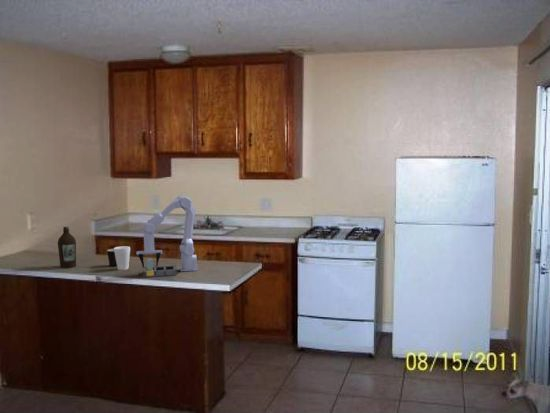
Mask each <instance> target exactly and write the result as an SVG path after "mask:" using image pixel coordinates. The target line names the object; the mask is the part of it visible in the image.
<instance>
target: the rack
mask: <svg viewBox="0 0 550 413" xmlns="http://www.w3.org/2000/svg"><path fill="white" fill-rule="evenodd" d="M142 268H143V270H142V278H152V277H153V278H154V277H155V278H156V277H171V276H170V275H172V276H178V267H177V265H176V264H175V265H163V266H159V265H158V267H156V266H153V270H151V271H147V266H144V267H143V266H142Z"/></svg>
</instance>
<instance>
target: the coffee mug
mask: <svg viewBox="0 0 550 413" xmlns="http://www.w3.org/2000/svg"><path fill="white" fill-rule="evenodd" d="M106 252H107V257H108V258H107V259H108V265H109V267H110V268H115V267H116V268H117V263H116V258H115V252H114V248H110V249H107V250H106Z"/></svg>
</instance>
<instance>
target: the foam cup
mask: <svg viewBox="0 0 550 413" xmlns="http://www.w3.org/2000/svg"><path fill="white" fill-rule="evenodd" d="M113 249H114V252H115V258H116V263H117V267H116V268H117V270H118V271H127V270H128V269H129V267H130V266H129V264H130V256H131V246H127V245H126V246H123V245H122V246H115V247H114V248H113Z"/></svg>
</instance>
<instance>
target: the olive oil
mask: <svg viewBox="0 0 550 413" xmlns="http://www.w3.org/2000/svg"><path fill="white" fill-rule="evenodd" d="M62 230H63V231H62V232H63V233H62V234H61V236H60V237H59V238H58V241H57V249H58V256H59V257H58V258H59V259H58V260H59V267H60V268H61V269H72V268H75V267H77V240H76V238H75V236H74V235H72V234H71V233H70V228H69V226H63V229H62Z"/></svg>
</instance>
